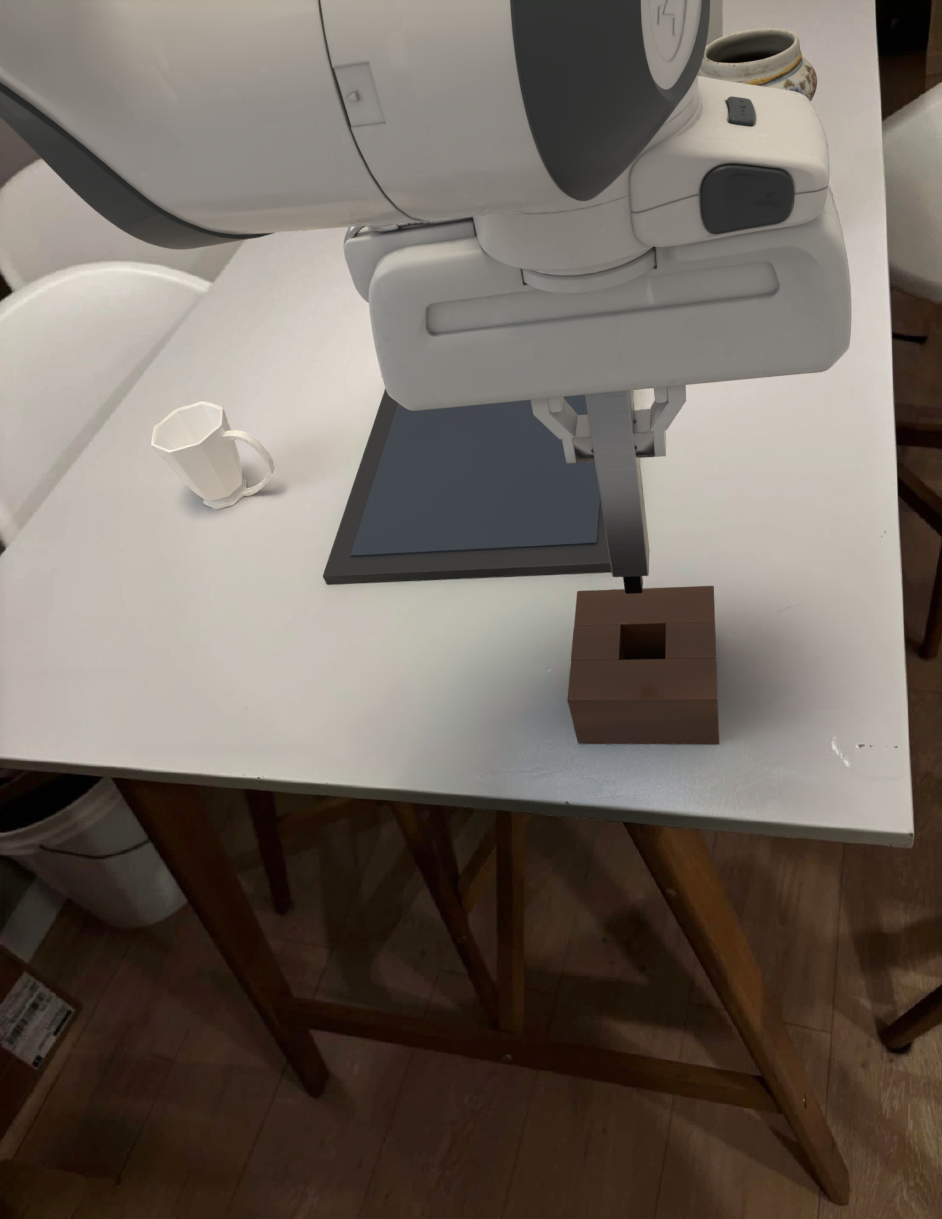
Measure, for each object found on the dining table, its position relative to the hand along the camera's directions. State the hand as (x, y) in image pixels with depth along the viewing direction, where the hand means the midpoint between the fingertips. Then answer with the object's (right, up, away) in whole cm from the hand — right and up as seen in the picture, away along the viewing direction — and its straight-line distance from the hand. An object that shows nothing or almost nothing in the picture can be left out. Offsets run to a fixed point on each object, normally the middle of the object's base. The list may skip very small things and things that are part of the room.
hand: (617, 452), depth 44 cm
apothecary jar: (+21, +31, +48) cm, 61 cm away
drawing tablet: (-5, +10, +38) cm, 39 cm away
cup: (-29, +3, +39) cm, 49 cm away
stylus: (+2, -7, +7) cm, 10 cm away
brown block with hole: (+5, -13, +15) cm, 20 cm away
